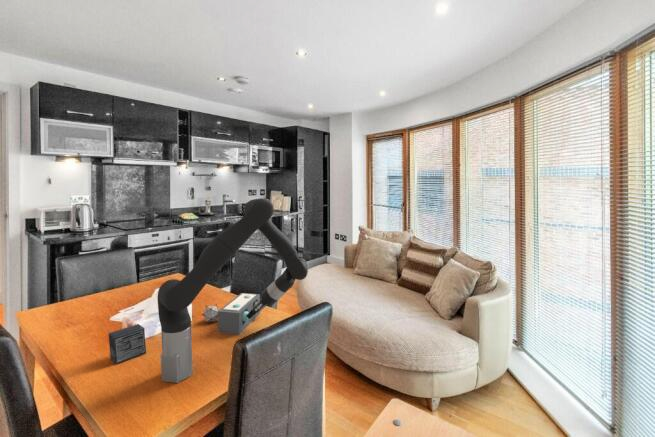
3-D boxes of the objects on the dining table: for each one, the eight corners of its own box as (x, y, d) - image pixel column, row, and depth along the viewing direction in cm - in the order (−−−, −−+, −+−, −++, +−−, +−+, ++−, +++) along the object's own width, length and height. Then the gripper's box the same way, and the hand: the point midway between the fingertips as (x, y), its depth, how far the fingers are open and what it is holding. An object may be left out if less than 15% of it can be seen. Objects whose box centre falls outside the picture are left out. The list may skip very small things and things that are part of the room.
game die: (213, 330, 151) (212, 319, 145) (198, 322, 152) (196, 311, 146) (224, 315, 158) (224, 304, 151) (210, 308, 159) (209, 297, 152)
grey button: (259, 312, 154) (259, 304, 153) (253, 312, 154) (253, 303, 154) (262, 309, 158) (262, 300, 158) (257, 308, 159) (257, 300, 158)
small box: (140, 347, 128) (138, 322, 126) (146, 353, 123) (145, 327, 122) (109, 358, 119) (107, 332, 118) (115, 365, 115) (113, 337, 114)
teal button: (245, 323, 142) (245, 313, 142) (238, 322, 143) (238, 313, 142) (249, 319, 147) (249, 309, 146) (243, 318, 147) (243, 309, 147)
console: (239, 334, 139) (239, 311, 138) (218, 332, 141) (217, 309, 140) (260, 313, 163) (259, 292, 162) (241, 311, 164) (241, 291, 163)
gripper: (273, 281, 147) (248, 305, 151) (262, 291, 134) (236, 316, 138) (284, 293, 147) (259, 316, 150) (274, 304, 134) (247, 329, 137)
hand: (248, 316), depth 144 cm, fingers closed
